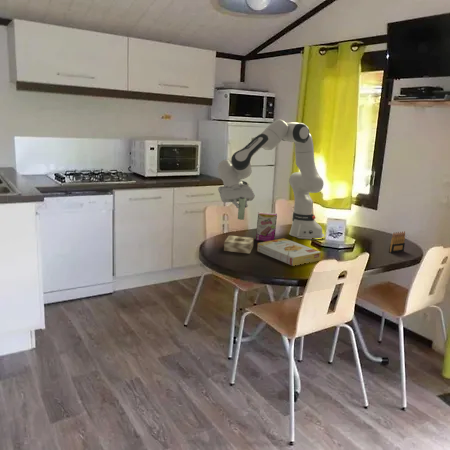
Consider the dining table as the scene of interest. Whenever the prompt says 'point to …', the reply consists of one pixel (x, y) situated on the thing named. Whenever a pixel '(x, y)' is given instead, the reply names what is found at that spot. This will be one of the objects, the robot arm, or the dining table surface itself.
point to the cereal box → (289, 251)
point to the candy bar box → (266, 226)
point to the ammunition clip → (397, 242)
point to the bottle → (241, 208)
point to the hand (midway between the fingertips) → (242, 207)
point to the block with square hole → (238, 244)
